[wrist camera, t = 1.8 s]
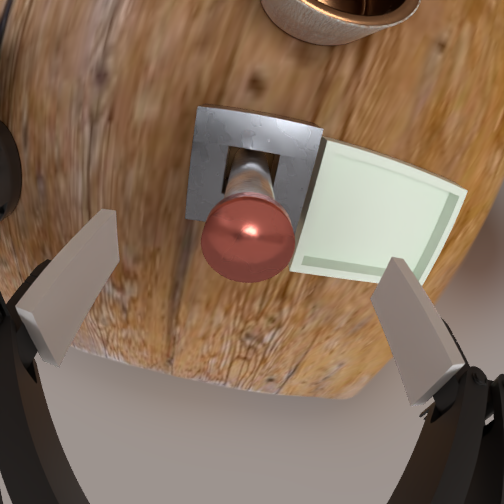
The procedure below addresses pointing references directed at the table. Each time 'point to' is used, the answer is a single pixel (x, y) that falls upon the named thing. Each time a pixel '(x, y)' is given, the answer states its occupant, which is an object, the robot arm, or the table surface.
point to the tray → (371, 214)
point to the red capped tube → (248, 224)
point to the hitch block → (256, 138)
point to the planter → (337, 18)
